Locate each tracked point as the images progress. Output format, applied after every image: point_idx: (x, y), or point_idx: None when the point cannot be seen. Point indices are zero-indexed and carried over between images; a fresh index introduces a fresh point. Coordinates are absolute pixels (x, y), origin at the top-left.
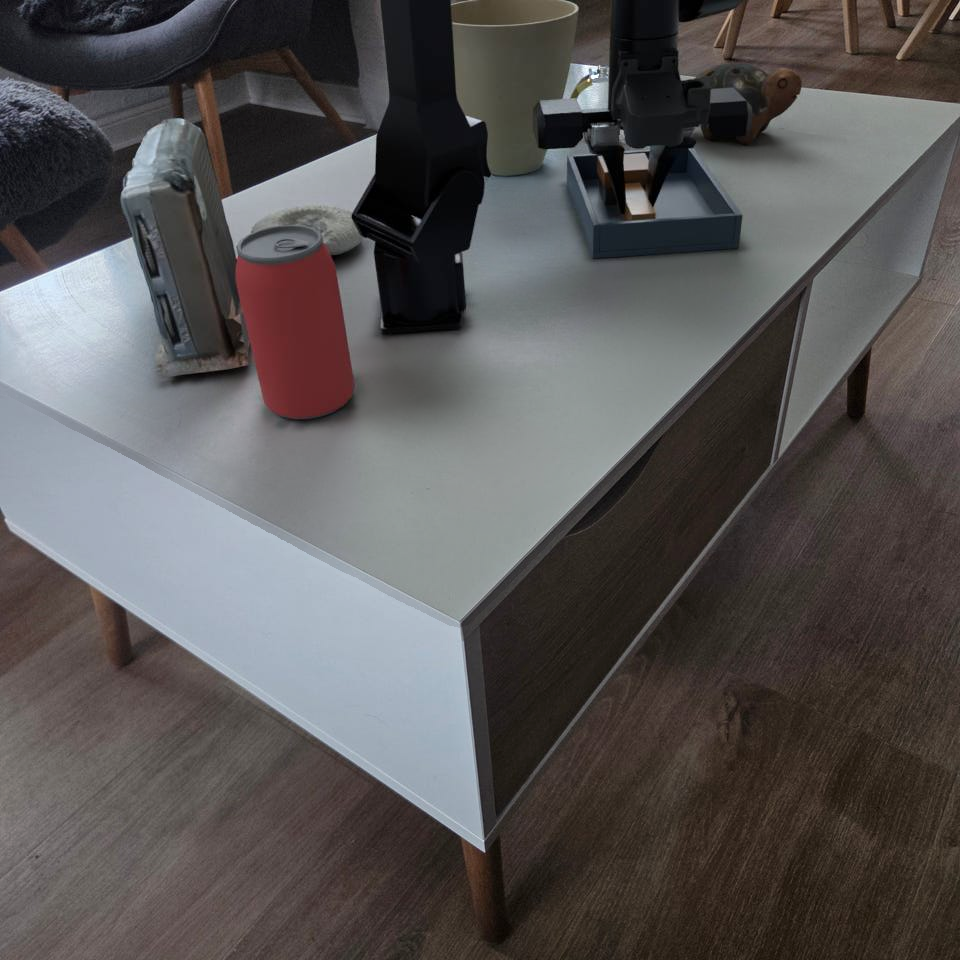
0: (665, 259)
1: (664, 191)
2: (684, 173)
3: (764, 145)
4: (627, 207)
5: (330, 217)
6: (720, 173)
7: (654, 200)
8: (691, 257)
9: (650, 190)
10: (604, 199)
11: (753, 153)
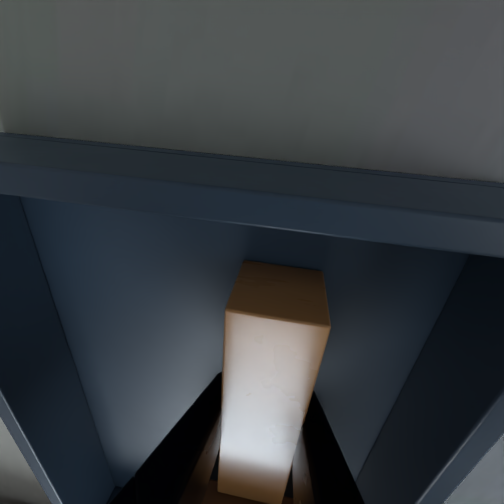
0: (245, 106)
1: None
2: (118, 483)
3: (8, 497)
4: (312, 390)
5: None
6: None
7: (202, 400)
8: (152, 100)
9: (207, 442)
10: None
11: (20, 488)
